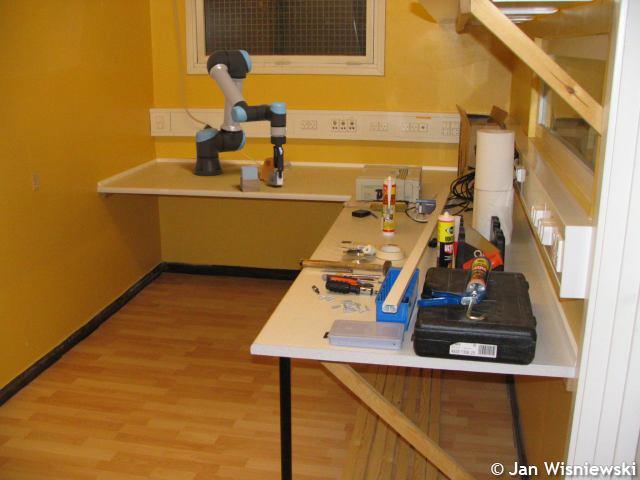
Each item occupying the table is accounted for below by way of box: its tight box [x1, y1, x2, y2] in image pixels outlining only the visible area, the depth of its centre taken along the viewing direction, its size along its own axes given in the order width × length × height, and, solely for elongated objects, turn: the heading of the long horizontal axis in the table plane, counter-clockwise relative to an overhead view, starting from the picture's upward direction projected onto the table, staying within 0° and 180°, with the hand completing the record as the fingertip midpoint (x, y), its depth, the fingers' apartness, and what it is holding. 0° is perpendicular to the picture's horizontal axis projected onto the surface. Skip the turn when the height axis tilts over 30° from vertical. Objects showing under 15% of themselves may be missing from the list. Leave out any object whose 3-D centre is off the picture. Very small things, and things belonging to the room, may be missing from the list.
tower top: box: [240, 165, 259, 180], centre depth 319 cm, size 7×7×5 cm
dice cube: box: [268, 172, 285, 186], centre depth 327 cm, size 5×5×5 cm
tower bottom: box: [239, 176, 261, 193], centre depth 321 cm, size 8×8×6 cm
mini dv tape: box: [414, 198, 437, 215], centre depth 277 cm, size 8×2×6 cm, turn 78°
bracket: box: [259, 156, 286, 183], centre depth 342 cm, size 11×7×12 cm, turn 57°
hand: (278, 182), depth 329 cm, fingers closed on dice cube, 6 cm apart
